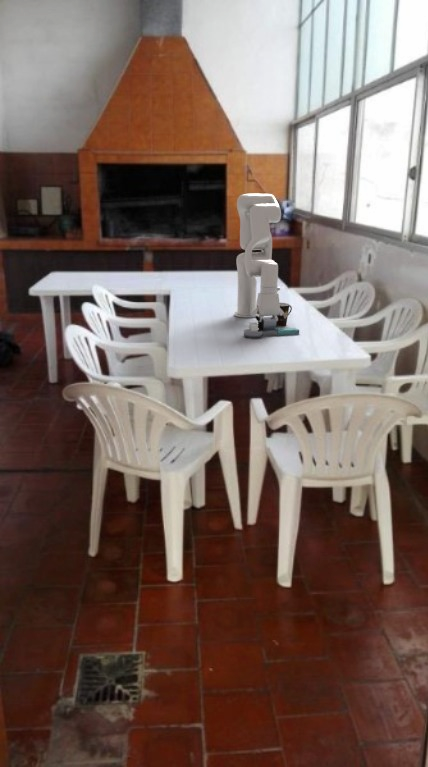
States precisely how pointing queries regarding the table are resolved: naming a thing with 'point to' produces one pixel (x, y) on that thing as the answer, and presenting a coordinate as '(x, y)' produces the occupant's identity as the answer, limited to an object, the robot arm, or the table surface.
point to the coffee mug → (283, 319)
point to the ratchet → (267, 332)
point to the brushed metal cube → (269, 323)
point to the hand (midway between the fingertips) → (267, 329)
